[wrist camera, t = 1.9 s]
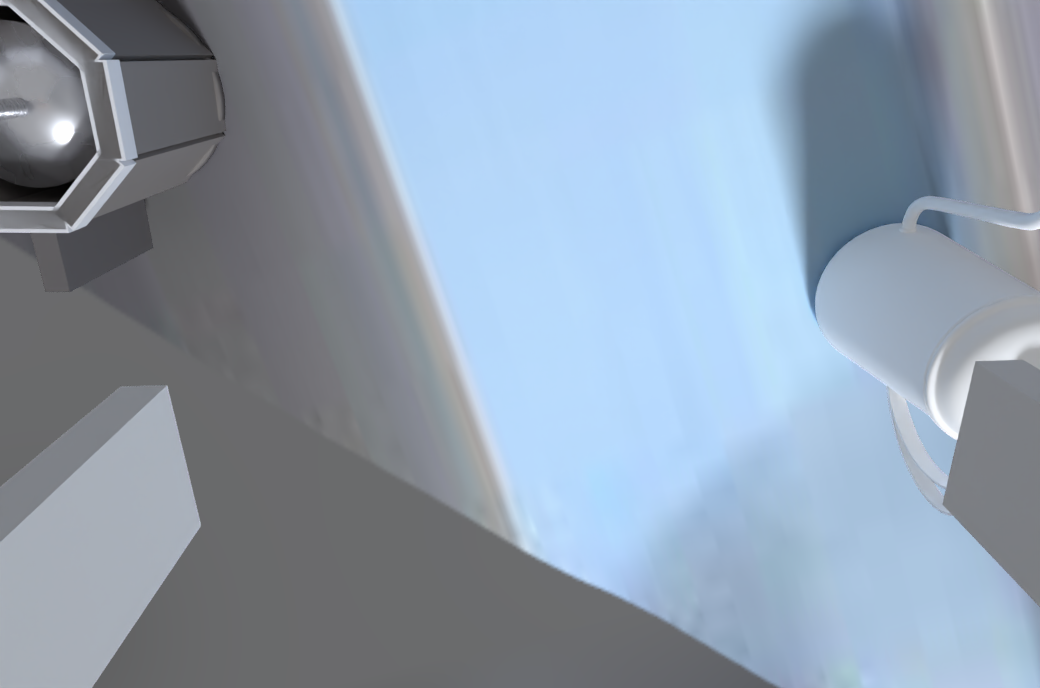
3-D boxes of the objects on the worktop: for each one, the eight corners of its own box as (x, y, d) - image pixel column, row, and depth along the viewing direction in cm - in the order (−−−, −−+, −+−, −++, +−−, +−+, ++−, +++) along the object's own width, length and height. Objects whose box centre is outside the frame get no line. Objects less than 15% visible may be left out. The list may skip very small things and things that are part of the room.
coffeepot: (979, 103, 49) (1235, 130, 31) (937, 423, 58) (1115, 580, 41) (819, 121, 49) (983, 157, 32) (803, 435, 58) (923, 596, 41)
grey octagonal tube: (18, -8, 46) (-178, -31, 33) (210, -5, 46) (89, -28, 33) (75, 238, 52) (-72, 299, 39) (244, 239, 52) (153, 301, 39)
